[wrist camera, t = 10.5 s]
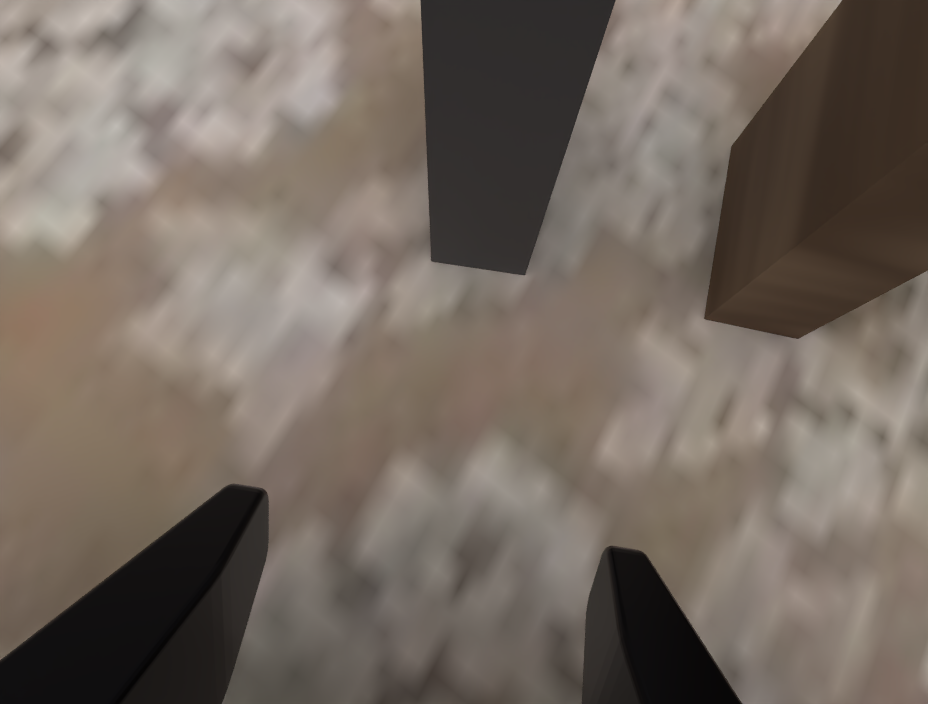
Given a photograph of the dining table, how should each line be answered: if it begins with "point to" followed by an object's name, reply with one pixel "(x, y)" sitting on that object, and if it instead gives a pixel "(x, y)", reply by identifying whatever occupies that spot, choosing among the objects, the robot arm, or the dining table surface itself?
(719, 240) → the domino
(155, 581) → the robot arm
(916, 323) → the dining table surface
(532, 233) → the dark gray rectangular block
